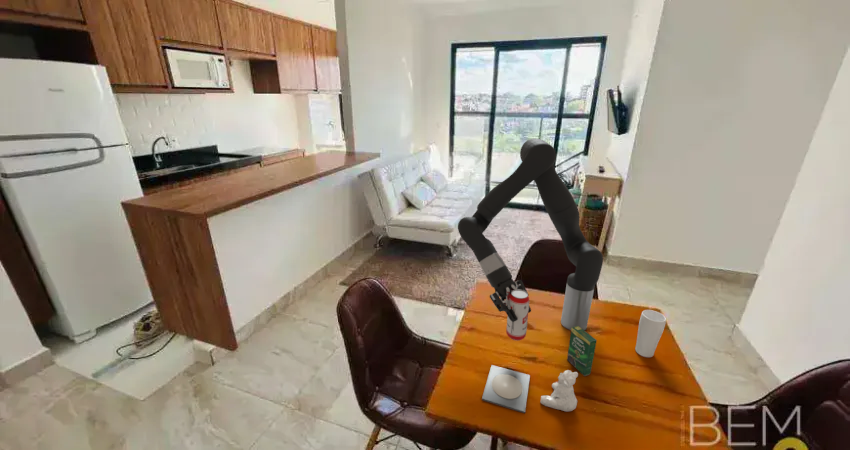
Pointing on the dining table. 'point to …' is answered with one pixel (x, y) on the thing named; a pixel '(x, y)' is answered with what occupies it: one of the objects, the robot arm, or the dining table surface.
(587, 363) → the coffee box
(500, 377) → the card
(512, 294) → the beer can
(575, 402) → the seated beast figurine
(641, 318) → the drinking glass
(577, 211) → the robot arm
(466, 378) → the dining table surface
